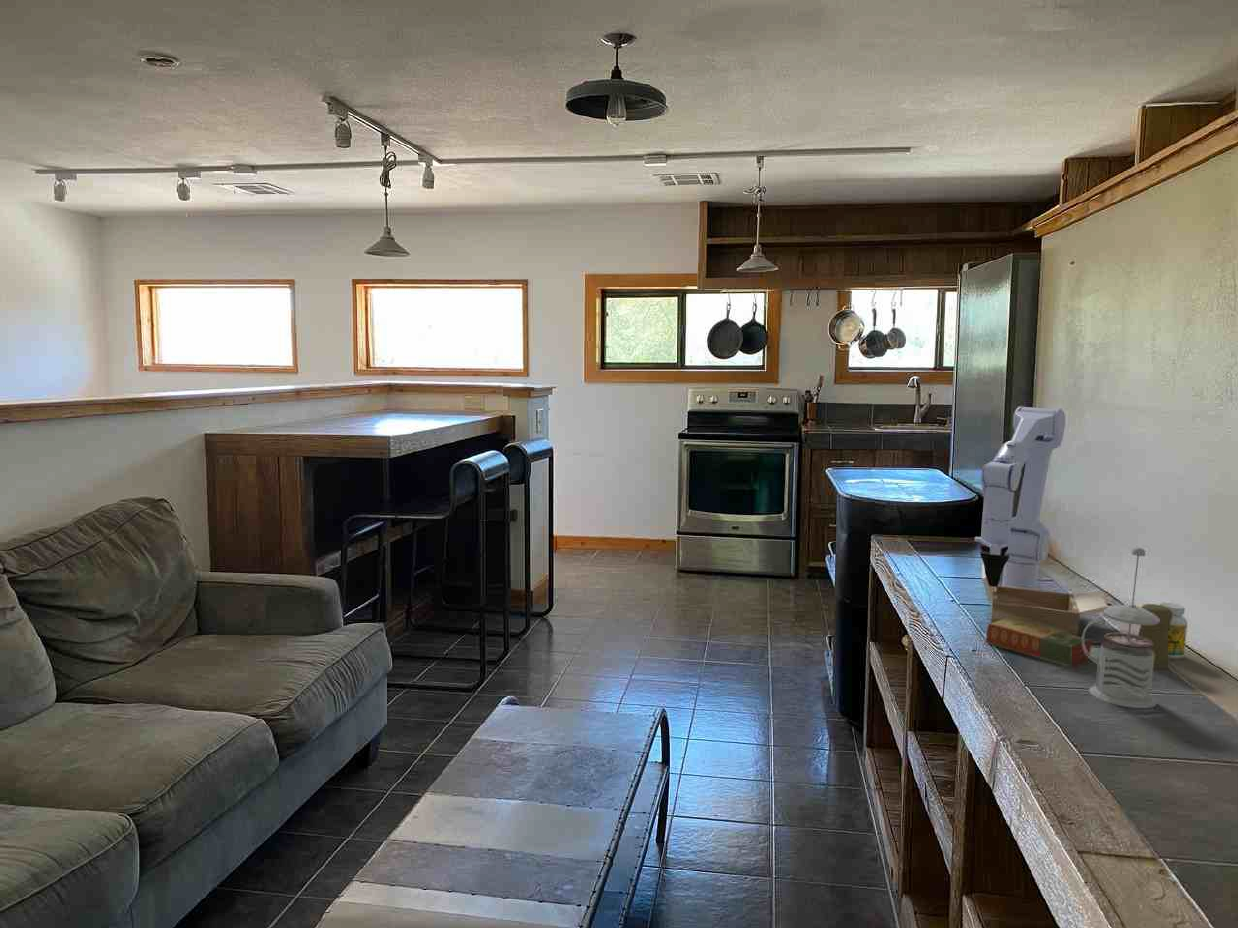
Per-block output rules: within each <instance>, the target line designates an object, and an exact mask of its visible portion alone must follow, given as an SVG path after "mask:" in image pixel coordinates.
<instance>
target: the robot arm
mask: <svg viewBox="0 0 1238 928" xmlns="http://www.w3.org/2000/svg"><path fill="white" fill-rule="evenodd" d="M1065 426H1066V413H1065V411H1064V410H1063V408H1047V407H1046V408H1043V407H1033V406H1032V407H1029V406H1024V405H1023V406H1022V405H1020V406H1018V407H1017V408H1016V409H1015V410H1014V413H1013V417H1012V428H1013V430H1014V433H1013V435H1012V438H1011V440H1009V441H1006V442H1005V443H1003V444H1002V446H1001V447H1000V448H999V451H998V452H997V454H996V455H995V457H994V459H993V460H992V461H989V462H988V463H985V464H984V465H983V466H982V467H983V468H982V471H981V476H980V484H981V488H982V489H981V496H982V497H983V508H982V519H981V532H980V536H975V537H974V541H975V542H976V543H978V542H979V543H981V544H979V547H980V550H979V551H980V552H979V553H980V554H979V555H980V558H981V559H982V564H984V568H985V575H986V577H987V580H988V583H989V586H994V587H997V586H998V585H1000V580H1001V576H1002V584H1001V586H1008V587H1017V588H1025V589H1033V590H1037V585H1038V575H1039V566H1040V563H1042V562H1044V561H1046V559H1047V557H1048V555H1049V550H1050V531H1049V529H1048V527H1047V526H1046V525H1045V524H1044V523H1043V522H1042V521H1040V515H1041V508H1042V503H1043V497H1044V494H1045V493H1044V492H1045V486H1046V481H1047V475H1048V470H1049V466H1050V459H1051V456H1052V453H1053V450H1055V449H1057V448H1060V447H1061V444H1062V442H1063V440H1064V439H1063V437H1064V433H1065V428H1066V427H1065ZM1024 465H1025V467H1024ZM1023 467H1024V473H1023V478H1022V483H1021V489H1020V493H1019V500H1018V504H1017V505H1018V506H1017V511H1016V514H1015V516H1013V508H1014V498H1015V491H1016V490H1017V489H1018V488H1019V484H1020V481H1021V480H1020V479H1021V477H1022V470H1023ZM1002 572H1003V574H1002Z"/></svg>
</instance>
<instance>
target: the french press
mask: <svg viewBox="0 0 1238 928" xmlns="http://www.w3.org/2000/svg"><path fill="white" fill-rule="evenodd" d="M1131 555H1134V556H1136V565H1135V575H1134V582H1133V583H1134V584H1133V592H1132V600H1131V604H1118V605H1117V604H1116V605H1114V606H1111V607H1107V608H1108V609H1105V610H1104V611H1103V613H1104V616H1105V617H1107V618H1109V619H1110V620H1115V621H1118V622H1121V623H1127V624H1129V625H1128V626H1129V627H1128V632H1127V633H1124V632H1107V633H1105V634H1104V635H1103V637H1104V639H1105V640H1106V641H1103V642H1102V643H1101V644H1100V645H1101V646H1100V652H1099V653H1100V654H1099V658H1096V657H1095V656H1094V655H1092V654H1091V652H1090V653H1089V652H1088V651H1087V648H1086V646H1085V642H1084V641H1085V637H1086V636H1085V635H1086V632H1087V630H1088V629H1089V628H1090V626H1092V625H1093V624H1095V623H1099V622H1101V628H1102V629H1104V628H1105V624H1106V620H1105V618H1103V617H1097V618H1094V619H1093V620H1090V621H1089V622H1088V623H1087V624H1086V626H1085V627H1084V629H1083V632H1082V634H1081V637H1082V647H1083V650H1084V653H1085V654H1086V655H1087V656H1088V658H1089V659H1088V660H1091V661H1092V662H1094V663H1095V664H1096V665H1097V669H1096V679H1095V681H1096V682H1095V684H1093V686H1091V687H1090V688H1089V689H1088V691H1089V693H1090V694H1091V695H1092V696H1093V697H1095V698H1097V699H1099V700H1101V701H1104V702H1106V703H1110V704H1113V705H1116V706H1117V705H1118V706H1122V707H1126V708H1127V707H1128V708H1134V709H1148V708H1153V707H1155V706H1156V705H1157V701H1156V700H1155V698H1154V697H1153V696H1152V695H1151V690H1152V683H1153V681H1152V680H1153V674H1154V673H1153V672H1154V669H1153V666H1154V657H1155V653H1154V651H1153V650H1151V649H1149V648H1151V647H1152V646H1153V645H1154V643H1153V642H1152V641H1150V640H1148V639H1147V638H1143V637H1141V636H1140V637H1139V636H1138V634H1137V635H1135V634H1131V629H1132V625H1138V626H1141V625H1156V624H1158V623H1159V622H1160V619H1159V618H1158V617H1157V616H1156V615H1155V614H1153V613H1151V612H1149V611H1148V610H1145V609H1143V608H1141V607H1142V606H1138V605H1137V606H1136V605H1135V604H1134V601H1135V593H1136V586H1137V585H1136V583H1137V575H1138V567H1139V566H1138V565H1139V559H1140V558H1139V557H1144V556H1146V550H1145V549H1143V548H1142V547H1134V548H1133V549H1132V550H1131ZM1115 648H1123V649H1126V650H1128V651H1130V652H1131V653H1132V654H1133V653H1134V654H1136V655H1137V656H1133V655H1132V654H1130V653H1128V652H1125V651H1122V650H1117V651H1114V650H1112V649H1115ZM1085 650H1086V651H1085ZM1086 652H1087V653H1088V654H1089V655H1088V654H1087V653H1086ZM1108 659H1109V660H1108ZM1125 665H1126V666H1125ZM1128 666H1129V667H1128ZM1132 669H1133V670H1132ZM1118 670H1119V671H1118ZM1147 670H1148V672H1145V671H1147ZM1121 671H1122V672H1121ZM1124 672H1125V673H1127V674H1125V673H1124ZM1128 674H1129V675H1130V676H1129V675H1128ZM1131 676H1132V677H1131ZM1145 678H1147V679H1145ZM1145 686H1146V687H1145Z"/></svg>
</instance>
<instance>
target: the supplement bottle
mask: <svg viewBox="0 0 1238 928" xmlns="http://www.w3.org/2000/svg"><path fill="white" fill-rule="evenodd" d="M1159 605H1161V606H1164V607H1167V608H1168V609H1170V610H1171V612H1172V620H1171V623H1170V624H1169V625H1168V652H1169V659H1178V660H1179V659H1182V658H1183V657H1184V656H1185V648H1186V647H1185V646H1186V641H1187V640H1186V638H1187V632H1188V631H1187V629H1188V620H1187V619H1186V617H1184V615H1185V609H1186V608H1185V606H1184V605H1181V604H1177V603H1172V602H1161V603H1160V604H1159Z"/></svg>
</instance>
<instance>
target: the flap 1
mask: <svg viewBox="0 0 1238 928" xmlns="http://www.w3.org/2000/svg"><path fill="white" fill-rule="evenodd" d="M981 580H982V584H983V587H984V591H985V594H986V597H987V600H988V602H990V603H991V601H993V586H989V583H988V580H987V577H986V575H985V568H984V563H982V564H981Z"/></svg>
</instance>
